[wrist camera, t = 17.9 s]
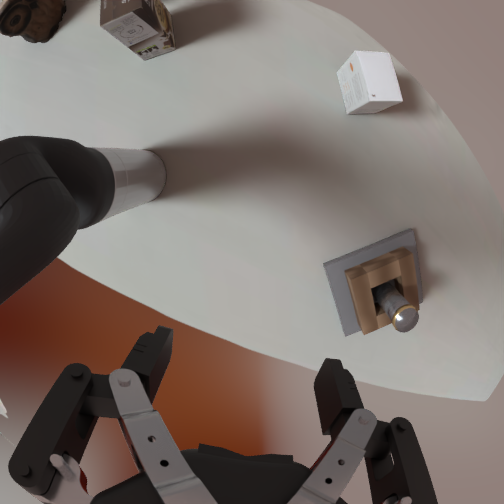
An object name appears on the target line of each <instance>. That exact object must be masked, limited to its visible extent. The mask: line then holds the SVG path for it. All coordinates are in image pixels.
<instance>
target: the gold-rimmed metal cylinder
mask: <svg viewBox="0 0 504 504" xmlns="http://www.w3.org/2000/svg"><path fill="white" fill-rule="evenodd" d="M371 292H372V295H373V297H374V298H375V299H376V301H377V302H378V303H379V305H380V306H381V307H382V309H383V310H384V311H385V313H386V314H387V315H388V317H389V318H390V320H391V321H392V324H393V326H394V327H395V329H396V330H398V331H400V332H408V331H410V330H411V329H412V328H414V326H415V325H416V324H417V322H418V319H419V315H418V311H417V309H416V308H415V307H414V306H413V305H411V304H410V303H409V302H408V301H407V300H406V299H405V298H404V297H403V296H402V295H401V294H400V293H399V291H398V290H397V289H396V288H395V287H394V286H393V285H392V284H391V283H390V282H389V281H387V282H385V283H383V284H380V285H378V286H376V287H373V288H371Z"/></svg>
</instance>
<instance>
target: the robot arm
mask: <svg viewBox="0 0 504 504" xmlns="http://www.w3.org/2000/svg"><path fill="white" fill-rule="evenodd" d="M165 182H166V170H165V166H164V164H163V162H162V160H161V159H160V158H159V157H158V155H156V154H155V153H153V152H151V151H147V150H137V149H120V148H88V147H84V146H83V145H81V144H79V143H78V142H76V141H73V140H69V139H62V138H52V137H41V136H18V137H12V138H8V139H5V140H2V141H0V305H1V304H2V303H3V302H4V301H6V300H7V299H8V298H9V297H10V296H12V295H13V294H14V293H15V292H16V291H18V290H19V289H20V288H21V287H23V286H24V285H25V284H26V283H27V282H29V281H30V280H31V279H32V278H33V277H35V276H36V275H37V274H39V273H40V272H41V271H42V270H43V269H44V268H46V266H48V265H49V264H50V263H51V262H52V261H53V260H54V259H55V258H56V257H57V256H58V255H59V254H60V253H61V252H62V251H63V250H64V249H65V248H66V247H67V245H68V244H69V243H70V242H71V240H72V239H73V237H74V235H75V234H76V232H77V230H78V229H84V228H87V227H89V226H92V225H94V224H96V223H98V222H100V221H102V220H105V219H107V218H109V217H112V216H114V215H116V214H119V213H121V212H124V211H126V210H129V209H131V208H134V207H136V206H139V205H142V204H144V203H147V202H150V201H152V200H154V199H155V198H156V197H157V196H158V195H159V194H160V193H161V192H162V190H163V188H164V185H165ZM172 342H173V329H171V328H167V327H164V326H160V325H159V326H158V327H157V329H156V331H155V333H154V334H153V333H149V332H146V333H145V334H143V335H142V336H140V337H139V339H138V340H137V342H136V344H135V345H134V347H133V349H132V350H131V352H130V353H129V355H128V357H127V358H126V360H125V362H124V363H123V365H122V366H121V368H120V369H117V370H115V371H113V372H112V373H111V374H109V375H100V374H92V373H91V371H90V369H89V368H88V367H87V366H85V365H83V364H79V363H74V364H70V365H68V366H67V367H66V368H65V369H64V370H63V372H62V373H61V374H60V376H59V378H58V379H57V380H56V382H55V383H54V385H53V386H52V388H51V390H50V391H49V393H48V394H47V396H46V397H45V399H44V401H43V402H42V404H41V405H40V407H39V409H38V410H37V412H36V414H35V415H34V417H33V419H32V420H31V422H30V424H29V426H28V427H27V429H26V431H25V433H24V434H23V436H22V438H21V440H20V442H19V443H18V445H17V447H16V449H15V451H14V453H13V455H12V457H11V459H10V461H9V465H8V468H9V473H10V475H11V477H12V478H13V479H14V481H15V482H16V483H18V484H19V485H20V486H21V487H22V488H24V489H25V490H26V491H28V492H29V493H30V494H31V495H33V496H34V497H35V498H37V499H38V500H40V501H41V502H42V503H44V504H347V503H346V502H345V501H344V500H343V499H342V498H341V497H340V495H341V493H342V492H343V490H344V489H345V487H346V486H347V484H348V483H349V481H350V479H351V478H352V476H353V474H354V472H355V471H356V469H357V467H358V465H359V464H360V462H361V460H362V458H363V457H365V462H366V467H367V473H368V478H369V484H370V490H371V496H372V502H373V504H438V502H437V499H436V495H435V491H434V488H433V485H432V481H431V478H430V475H429V472H428V469H427V466H426V463H425V460H424V457H423V454H422V451H421V448H420V445H419V443H418V440H417V437H416V435H415V432H414V429H413V427H412V424H411V423H410V422H409V421H408V420H407V419H405V418H402V417H396V418H394V419H393V420H392V421H391V422H390V423H387V422H383V421H379V420H377V418H376V416H375V415H374V414H373V413H372V412H371V411H369V410H367V409H364V406H363V403H362V401H361V398H360V395H359V392H358V390H357V387H356V384H355V381H354V378H353V376H352V375H351V373H350V372H349V371H348V370H347V369H343V366H342V363H341V361H340V360H339V359H330V358H326V359H325V360H324V362H323V364H322V366H321V368H320V370H319V372H318V374H317V376H316V379H315V382H314V391H315V396H316V401H317V407H318V412H319V417H320V423H321V428H322V433H323V435H331V441H330V443H329V444H328V445H327V447H326V448H325V450H324V451H323V452H322V454H321V455H320V456H319V457H318V459H317V460H316V461H315V463H314V464H313V465H312V466H311V467H310V469H309V468H307V467H306V466H304V465H302V464H299V463H297V462H294V461H293V455H277V454H266V455H257V456H244V455H240V454H238V453H235V452H232V451H230V450H227V449H224V448H221V447H215V446H209V445H205V444H199V448H198V449H187V450H182V451H179V449H178V448H177V446H176V444H175V442H174V440H173V438H172V437H171V435H170V433H169V431H168V430H167V428H166V426H165V424H164V422H163V420H162V418H161V416H160V414H159V413H158V411H157V410H154V409H153V407H152V403H153V401H154V398H155V395H156V393H157V391H158V388H159V386H160V383H161V381H162V378H163V376H164V374H165V371H166V369H167V366H168V364H169V362H170V358H171V354H172ZM99 417H109V418H117V419H118V422H119V424H120V427H121V430H122V432H123V435H124V437H125V440H126V442H127V445H128V447H129V450H130V452H131V455H132V458H133V460H134V462H135V464H136V467H137V469H138V470H139V473H138V474H136V475H134V476H132V477H131V478H129V479H127V480H125V481H123V482H121V483H119V484H117V485H115V486H113V487H111V488H108V489H106V490H104V491H102V492H100V493H98V494H97V495H96V496H95V497H92V496H90V495H89V494H88V492H87V477H86V475H85V473H84V472H83V470H82V469H81V468H80V466H79V464H80V461H81V459H82V456H83V453H84V451H85V449H86V446H87V444H88V441H89V439H90V437H91V434H92V432H93V429H94V427H95V425H96V423H97V420H98V418H99ZM391 453H392V457H393V461H394V465H393V461H392V457H391Z"/></svg>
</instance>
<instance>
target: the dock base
mask: <svg viewBox="0 0 504 504" xmlns="http://www.w3.org/2000/svg"><path fill="white" fill-rule="evenodd" d="M402 246H403V247H404V248H406V249H407V250H409V251H410V252H412V253H413V257H414V264H415V271H416V279H417V288H418V298H419V304H420V303H422V302H423V297H422V286H421V276H420V268H419V261H418V254H417V248H416V241H415V236H414V231H413V230H411V229H407V230H405V231H403V232H400V233H398V234H396V235H393V236H391V237H388V238H386V239H384V240H381V241H379V242H376V243H374V244H371V245H369V246H366V247H364V248H361V249H359V250H356V251H354V252H351V253H349V254H346V255H344V256H341V257H339V258H336V259H333V260H331V261H328V262H326V263H323V265H324V268H325V271H326V274H327V277H328V281H329V284H330V287H331V290H332V294H333V297H334V300H335V304H336V307H337V310H338V314H339V317H340V321H341V324H342V328H343V332H344V334H345V336H348V335H351V334H353V333H356V332H358V331H361V329H360V327H359V325H358V322H357V318H356V314H355V310H354V306H353V302H352V298H351V294H350V291H349V287H348V283H347V279H346V276H345V272H344V270H346V269H349V268H352V267H354V266H356V265H359V264H361V263H364V262H366V261H369V260H371V259H374V258H376V257H378V256H381V255H383V254H386V253H388V252H390V251H393V250H395V249H397V248H400V247H402ZM389 282H390V283H391V284H392V285H393V286H394V287H395V283H394V279H392V280H389ZM372 296H373V295H372ZM373 301H374V303H376V302H377V301H376V299H375V298H374V297H373Z"/></svg>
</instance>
